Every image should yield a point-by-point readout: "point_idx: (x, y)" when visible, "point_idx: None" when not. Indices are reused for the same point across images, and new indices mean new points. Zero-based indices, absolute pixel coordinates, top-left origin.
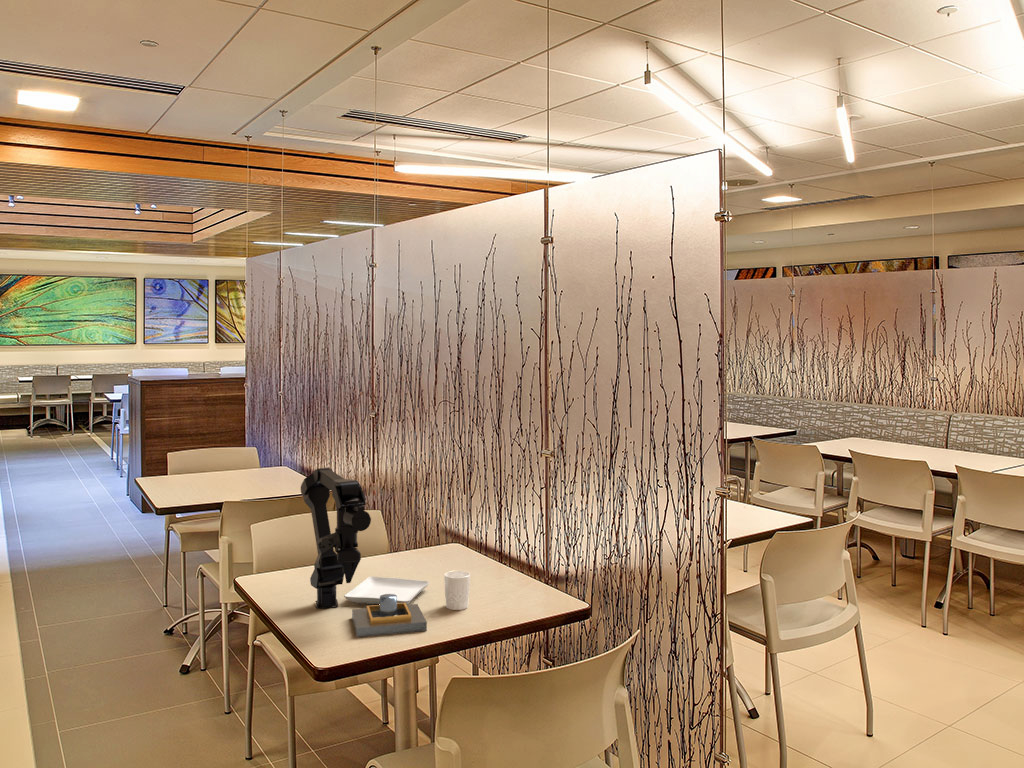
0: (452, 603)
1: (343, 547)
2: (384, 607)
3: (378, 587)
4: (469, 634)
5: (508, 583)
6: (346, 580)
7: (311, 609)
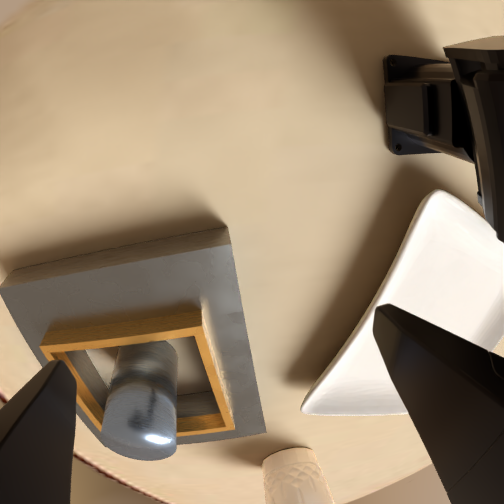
0: (267, 471)
1: None
2: (106, 404)
3: (496, 287)
4: (106, 470)
5: (390, 474)
6: (36, 378)
7: (381, 35)
